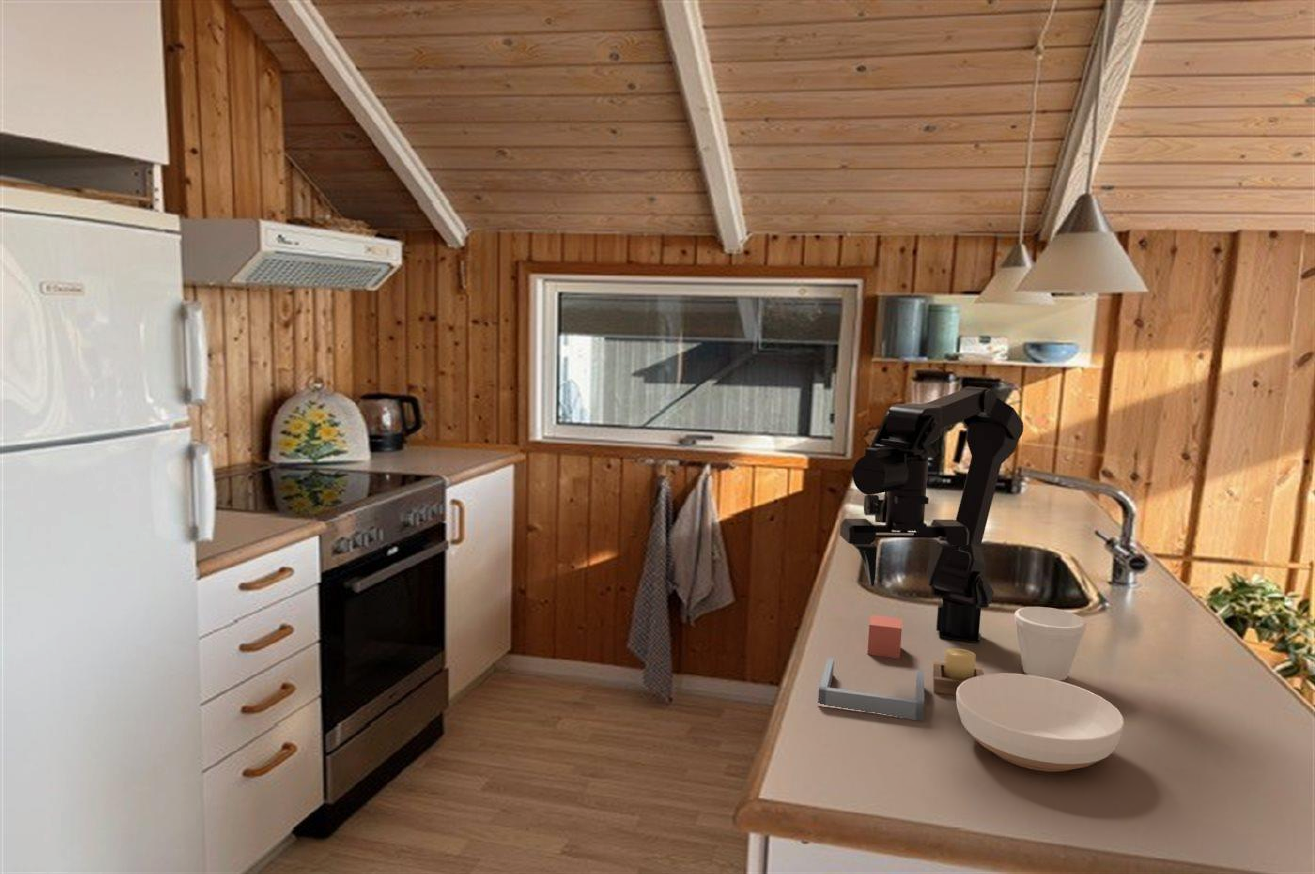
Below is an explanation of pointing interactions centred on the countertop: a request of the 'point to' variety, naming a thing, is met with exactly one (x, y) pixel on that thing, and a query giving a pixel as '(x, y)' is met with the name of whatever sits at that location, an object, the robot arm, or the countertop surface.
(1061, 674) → the cup
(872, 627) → the cube
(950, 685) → the housing
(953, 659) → the pale yellow rounded block
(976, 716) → the bowl
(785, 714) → the countertop surface
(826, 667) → the pocket
